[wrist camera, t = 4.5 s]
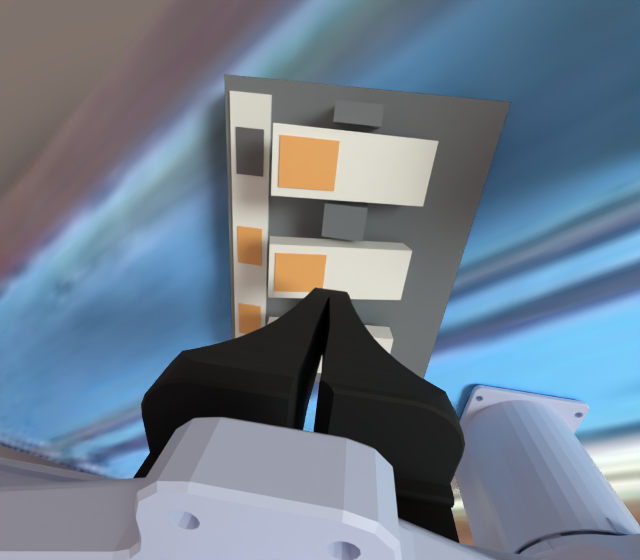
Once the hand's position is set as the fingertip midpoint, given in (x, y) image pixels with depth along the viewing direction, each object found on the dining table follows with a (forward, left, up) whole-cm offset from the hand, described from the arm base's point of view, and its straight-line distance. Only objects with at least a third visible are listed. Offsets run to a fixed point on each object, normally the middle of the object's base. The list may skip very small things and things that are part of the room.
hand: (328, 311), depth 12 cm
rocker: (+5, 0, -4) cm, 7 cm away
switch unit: (0, 0, -9) cm, 9 cm away
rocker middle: (0, 0, -4) cm, 4 cm away
